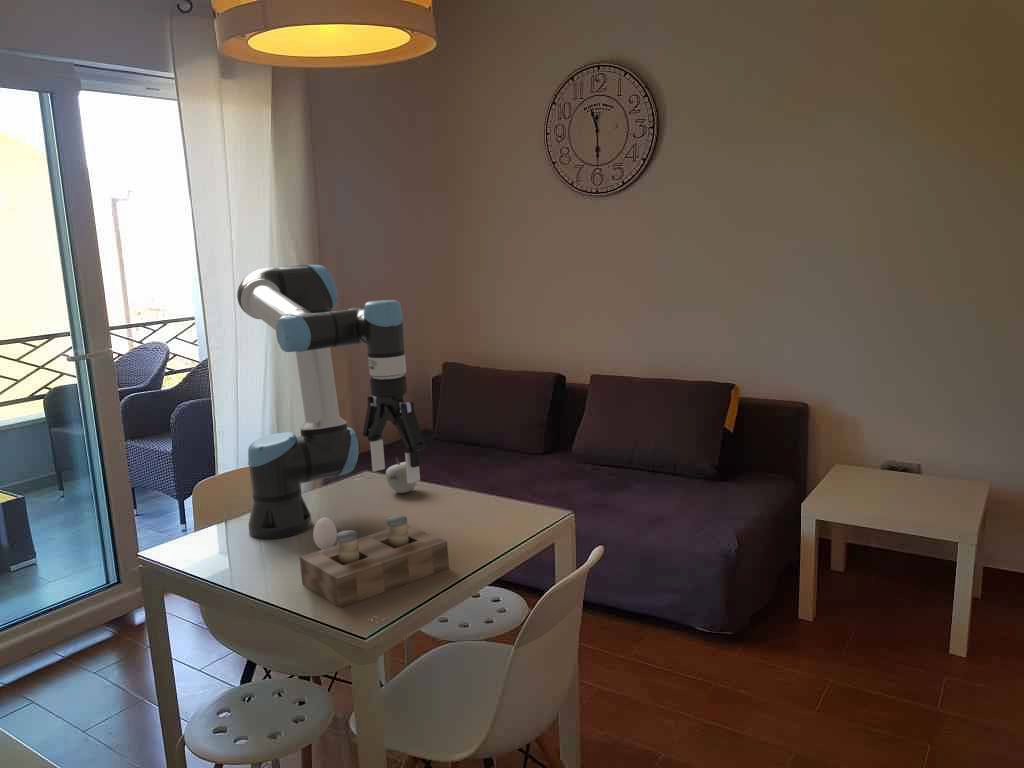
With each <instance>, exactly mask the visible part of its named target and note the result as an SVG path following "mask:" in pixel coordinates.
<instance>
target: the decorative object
mask: <svg viewBox="0 0 1024 768" xmlns="http://www.w3.org/2000/svg"><path fill="white" fill-rule="evenodd" d="M395 461H396V463H395V464H393V465H390V466H389V467H388V468H387V469H386V471H385V476H386V477H385V478H386V481H387V483H388V487H390V488H391V489H392V491H394V492H396V493H398V494H405V493H406V494H407V493H409V492H410V491H413V490H414V489H415V487H416V486H417V485H418V484H417V483H418V481H416V482H413V483H407V473H406V461H403V462H402V461H401V462H400V461H399V458H398V457H395Z"/></svg>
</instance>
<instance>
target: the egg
mask: <svg viewBox="0 0 1024 768" xmlns="http://www.w3.org/2000/svg"><path fill="white" fill-rule="evenodd" d="M337 533H338V531H337V528H336V525H335V523H334V522H333V521H332V520H331V519H330V518H329V517H321V518H319V519H318V520H317V521H316V523H315V524H314V527H313V532H312V537H313V541H314V543H315V545H316V547H317V548H319V550H323V549H327V548H330V547H333V546H335V545H336V544H337V538H336V534H337Z"/></svg>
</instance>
